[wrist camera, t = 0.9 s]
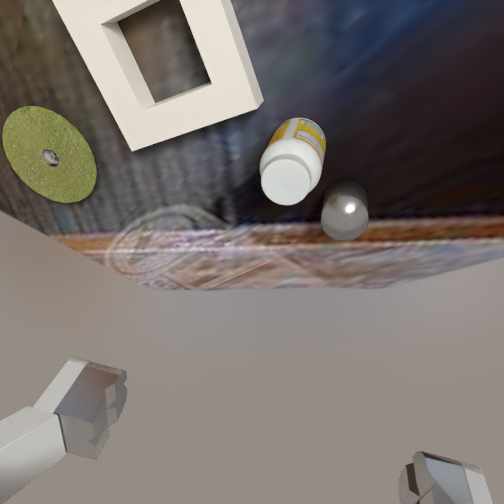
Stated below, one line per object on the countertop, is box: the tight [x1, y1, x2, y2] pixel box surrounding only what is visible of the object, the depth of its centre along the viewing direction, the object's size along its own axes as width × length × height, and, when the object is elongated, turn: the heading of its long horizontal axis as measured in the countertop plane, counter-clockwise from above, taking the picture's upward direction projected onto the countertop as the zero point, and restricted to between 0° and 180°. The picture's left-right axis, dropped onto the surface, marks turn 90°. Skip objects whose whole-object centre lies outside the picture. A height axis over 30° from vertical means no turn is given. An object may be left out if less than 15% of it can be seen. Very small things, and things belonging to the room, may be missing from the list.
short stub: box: [321, 179, 368, 241], centre depth 39 cm, size 4×4×5 cm
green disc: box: [2, 106, 97, 203], centre depth 44 cm, size 11×11×2 cm
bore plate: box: [52, 0, 264, 151], centre depth 35 cm, size 14×14×3 cm
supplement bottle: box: [260, 118, 326, 205], centre depth 35 cm, size 5×5×10 cm
